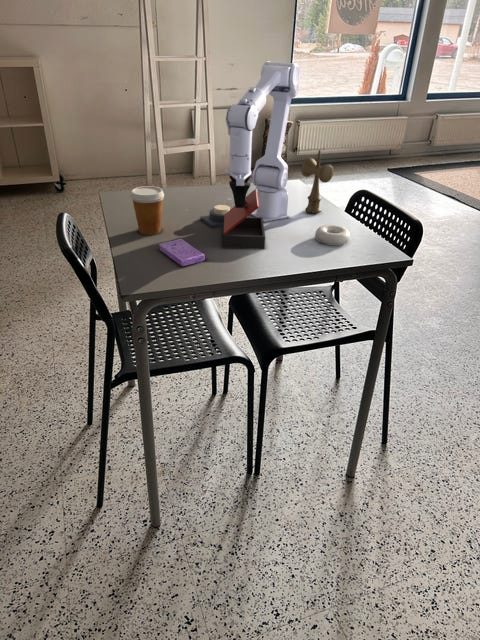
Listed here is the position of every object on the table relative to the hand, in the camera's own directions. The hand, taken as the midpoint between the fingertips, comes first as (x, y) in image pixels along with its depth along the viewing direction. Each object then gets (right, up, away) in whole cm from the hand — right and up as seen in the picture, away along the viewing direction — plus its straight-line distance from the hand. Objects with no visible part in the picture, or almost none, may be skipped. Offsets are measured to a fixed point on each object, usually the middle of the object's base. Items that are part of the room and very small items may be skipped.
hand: (239, 204), depth 138 cm
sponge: (-15, -15, -6) cm, 22 cm away
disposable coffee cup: (-26, -6, +8) cm, 28 cm away
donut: (+27, -9, +6) cm, 29 cm away
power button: (-5, +1, +15) cm, 16 cm away
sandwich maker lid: (+1, -2, +1) cm, 2 cm away
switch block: (-5, -1, +17) cm, 17 cm away
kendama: (+24, +3, +26) cm, 36 cm away
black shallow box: (+1, -9, +5) cm, 10 cm away
